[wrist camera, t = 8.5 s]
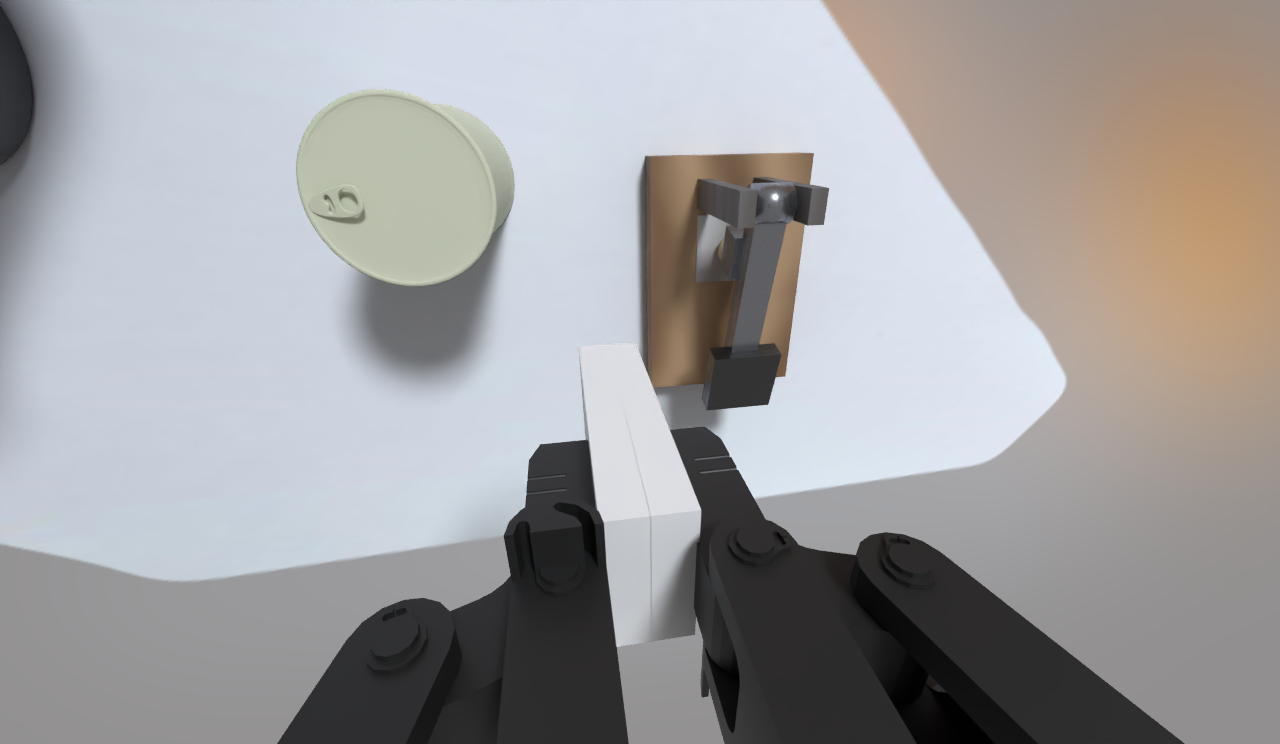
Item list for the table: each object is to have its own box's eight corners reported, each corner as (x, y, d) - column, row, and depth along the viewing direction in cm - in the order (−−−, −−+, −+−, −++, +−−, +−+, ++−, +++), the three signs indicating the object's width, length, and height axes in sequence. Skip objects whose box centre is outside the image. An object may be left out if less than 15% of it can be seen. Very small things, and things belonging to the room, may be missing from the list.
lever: (693, 373, 41) (706, 410, 38) (718, 169, 30) (740, 195, 27) (750, 369, 42) (768, 404, 38) (794, 167, 31) (825, 192, 28)
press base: (647, 377, 43) (674, 447, 33) (645, 156, 35) (680, 162, 26) (776, 366, 45) (837, 430, 35) (801, 152, 37) (890, 157, 27)
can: (354, 113, 32) (251, 99, 21) (497, 95, 32) (468, 74, 22) (401, 254, 36) (335, 303, 25) (527, 235, 36) (515, 275, 26)
